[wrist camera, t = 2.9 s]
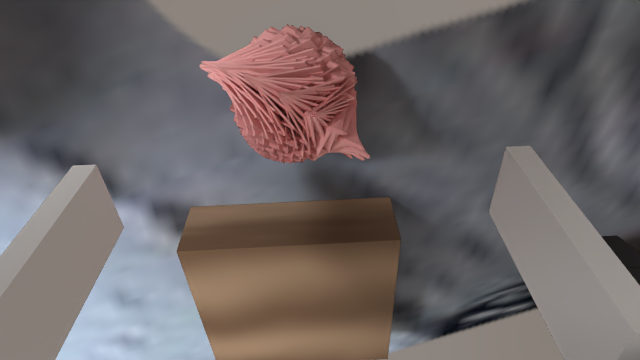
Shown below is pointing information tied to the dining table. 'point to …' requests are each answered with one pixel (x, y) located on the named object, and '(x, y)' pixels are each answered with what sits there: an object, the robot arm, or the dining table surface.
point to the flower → (292, 95)
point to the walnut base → (294, 278)
